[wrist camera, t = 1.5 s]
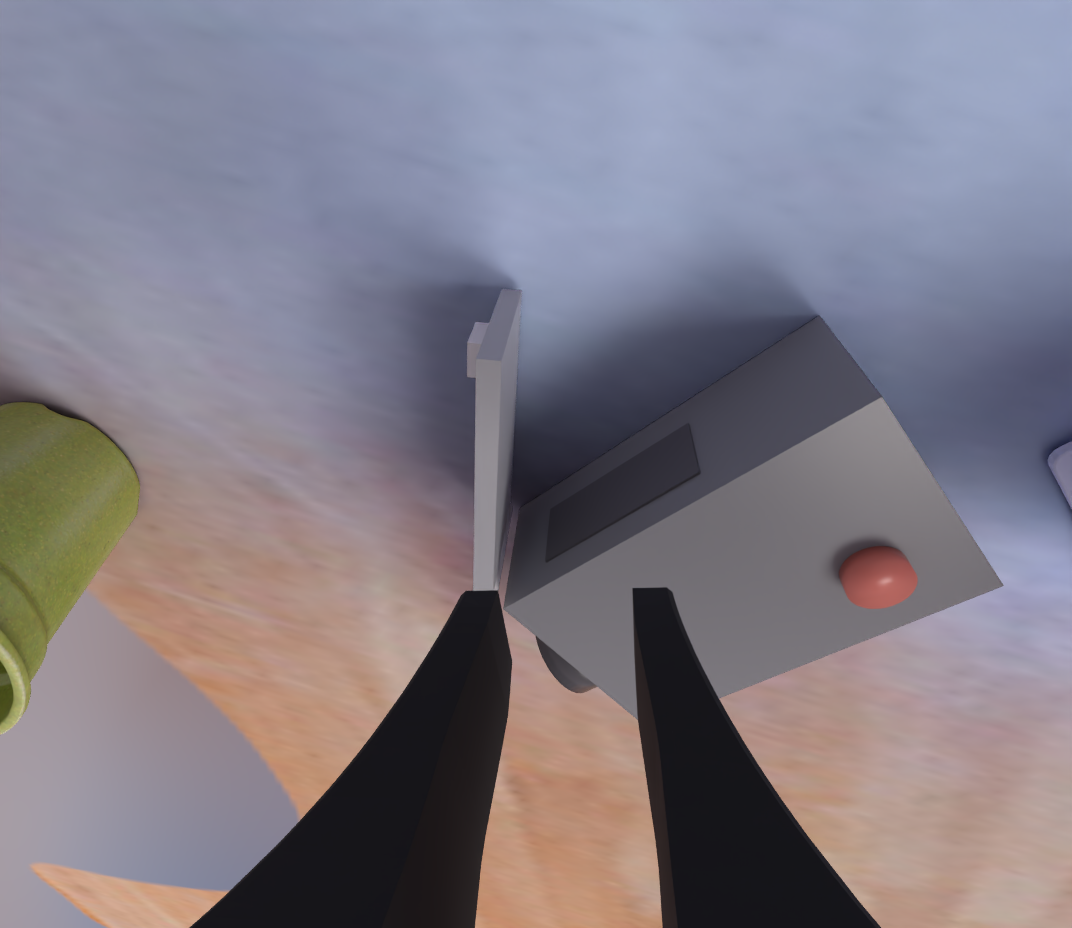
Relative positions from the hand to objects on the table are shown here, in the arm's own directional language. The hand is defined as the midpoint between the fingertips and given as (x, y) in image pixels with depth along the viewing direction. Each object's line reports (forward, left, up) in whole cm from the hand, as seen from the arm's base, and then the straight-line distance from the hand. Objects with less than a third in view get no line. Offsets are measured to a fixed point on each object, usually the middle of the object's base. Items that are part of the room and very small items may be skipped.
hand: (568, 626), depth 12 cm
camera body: (-1, +7, -10) cm, 12 cm away
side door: (+3, -1, -10) cm, 11 cm away
